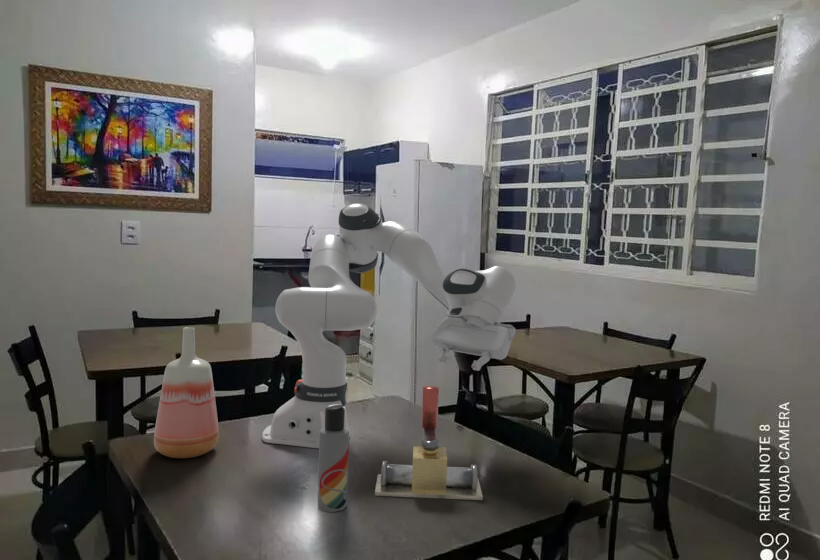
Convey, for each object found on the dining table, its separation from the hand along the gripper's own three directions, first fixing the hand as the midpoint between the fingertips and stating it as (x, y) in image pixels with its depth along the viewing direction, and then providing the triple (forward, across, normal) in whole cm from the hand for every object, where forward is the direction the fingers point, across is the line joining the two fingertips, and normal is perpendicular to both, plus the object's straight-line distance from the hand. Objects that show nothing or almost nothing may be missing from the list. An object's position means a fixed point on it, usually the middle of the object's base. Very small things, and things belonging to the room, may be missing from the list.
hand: (458, 365), depth 144 cm
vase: (+45, +49, +12) cm, 68 cm away
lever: (+20, -2, 0) cm, 20 cm away
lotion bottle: (+43, +4, +10) cm, 44 cm away
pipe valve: (+29, -5, -3) cm, 30 cm away
